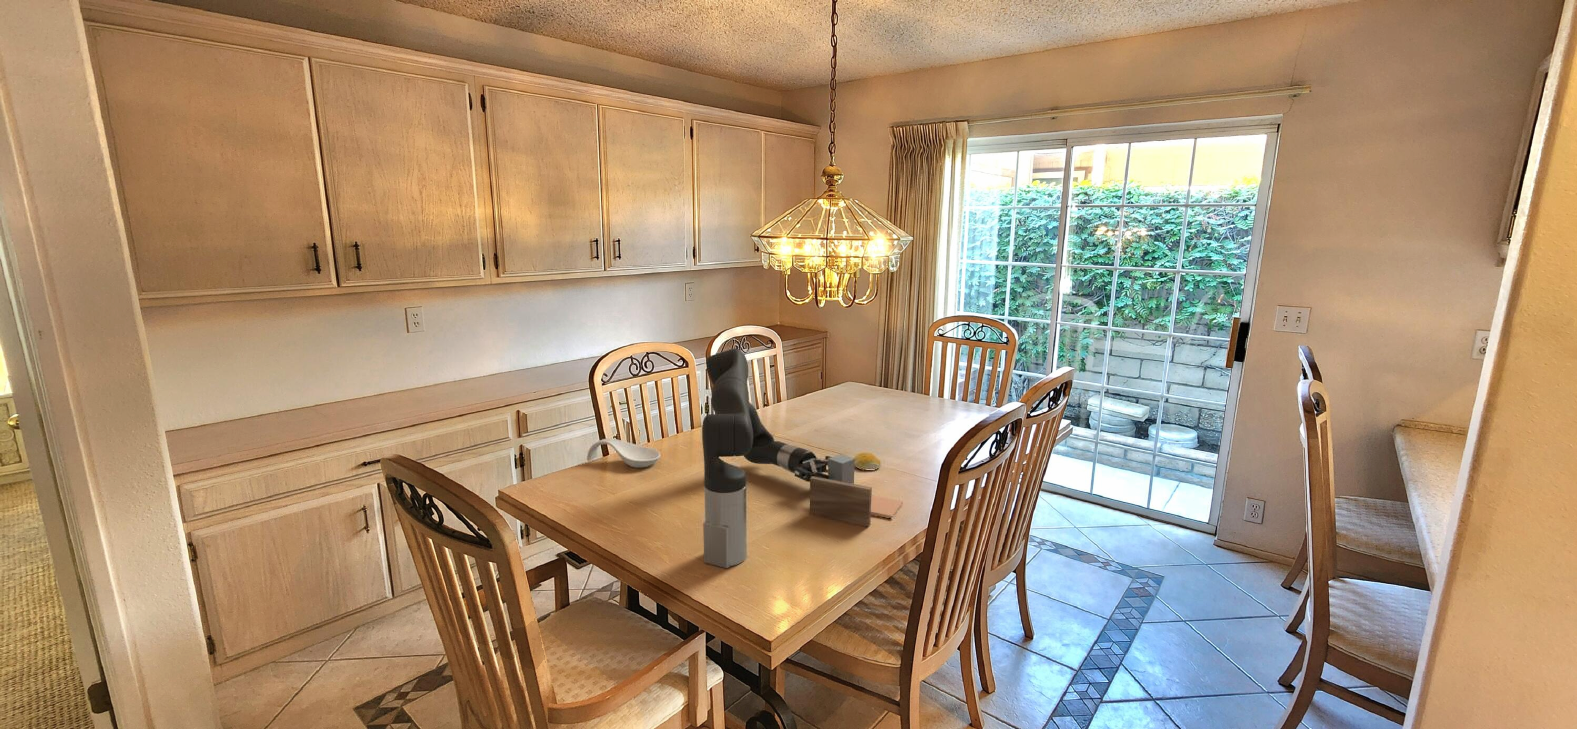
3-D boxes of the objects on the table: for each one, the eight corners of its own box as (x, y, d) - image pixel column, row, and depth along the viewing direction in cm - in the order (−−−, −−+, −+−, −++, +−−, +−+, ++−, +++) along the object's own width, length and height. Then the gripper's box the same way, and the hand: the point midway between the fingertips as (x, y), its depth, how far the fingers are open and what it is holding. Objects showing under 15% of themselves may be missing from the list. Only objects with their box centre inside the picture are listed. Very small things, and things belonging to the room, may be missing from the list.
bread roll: (873, 460, 206) (873, 448, 205) (883, 470, 197) (884, 458, 196) (848, 462, 204) (849, 450, 203) (858, 472, 195) (858, 460, 195)
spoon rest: (666, 460, 204) (666, 439, 203) (650, 474, 193) (649, 451, 191) (599, 453, 210) (598, 432, 208) (579, 466, 198) (578, 444, 197)
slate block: (853, 500, 175) (855, 459, 172) (841, 506, 171) (843, 463, 169) (839, 495, 178) (840, 454, 176) (827, 500, 175) (828, 458, 172)
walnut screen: (868, 527, 160) (869, 489, 157) (809, 514, 166) (810, 478, 164) (870, 524, 161) (871, 487, 159) (811, 512, 168) (812, 476, 166)
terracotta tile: (891, 519, 164) (892, 515, 164) (854, 511, 168) (854, 508, 168) (902, 504, 173) (902, 501, 172) (867, 497, 177) (867, 494, 177)
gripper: (778, 453, 180) (821, 469, 168) (813, 442, 189) (856, 456, 178) (778, 478, 181) (820, 495, 170) (813, 466, 191) (855, 481, 180)
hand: (838, 475), depth 174 cm, fingers open, 8 cm apart
